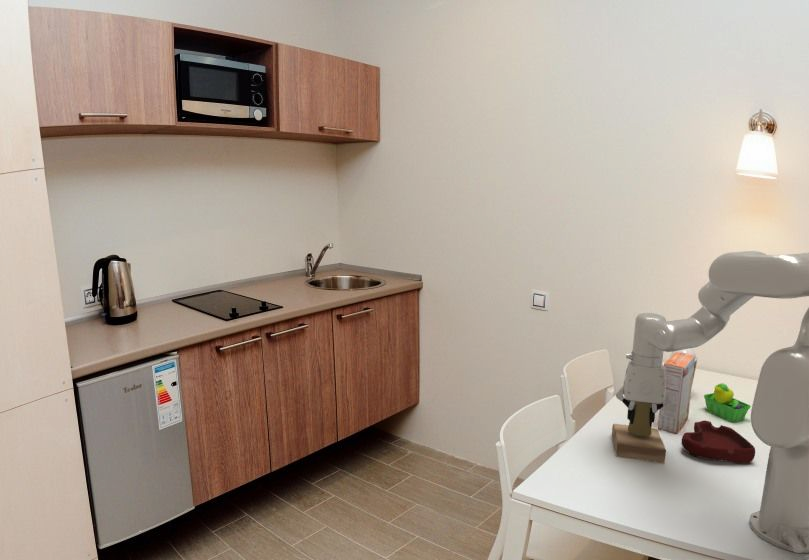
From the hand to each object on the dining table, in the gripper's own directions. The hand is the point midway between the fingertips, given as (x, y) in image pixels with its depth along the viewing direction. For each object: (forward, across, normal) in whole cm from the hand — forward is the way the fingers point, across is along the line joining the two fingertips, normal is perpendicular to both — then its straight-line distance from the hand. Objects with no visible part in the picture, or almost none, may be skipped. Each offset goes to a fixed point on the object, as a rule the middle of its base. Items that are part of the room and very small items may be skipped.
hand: (640, 422), depth 148 cm
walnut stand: (+8, 0, 0) cm, 8 cm away
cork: (+3, 0, 0) cm, 3 cm away
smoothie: (+8, +20, +45) cm, 50 cm away
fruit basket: (+8, +30, +31) cm, 44 cm away
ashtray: (+8, +22, +4) cm, 24 cm away
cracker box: (+8, +13, +20) cm, 25 cm away
